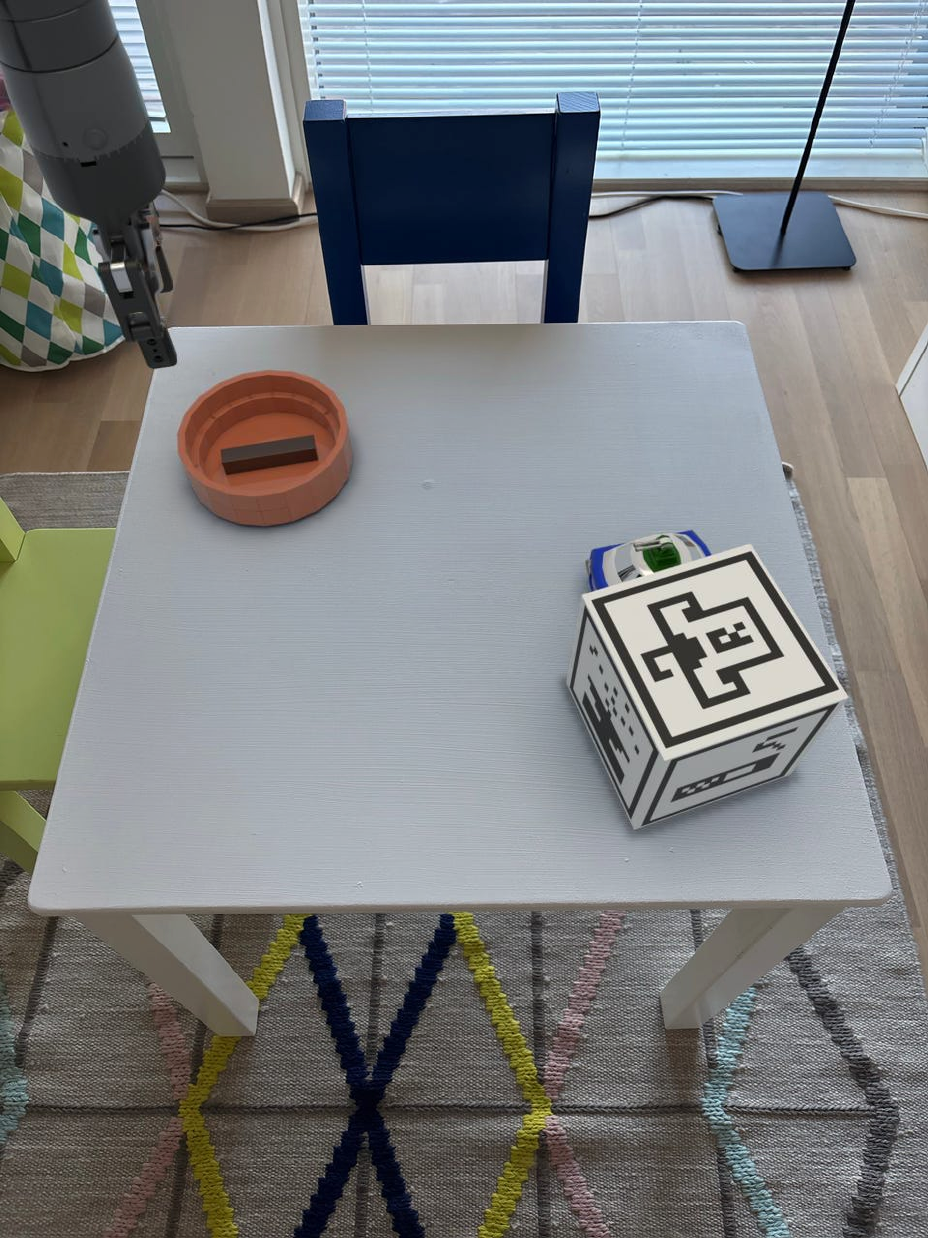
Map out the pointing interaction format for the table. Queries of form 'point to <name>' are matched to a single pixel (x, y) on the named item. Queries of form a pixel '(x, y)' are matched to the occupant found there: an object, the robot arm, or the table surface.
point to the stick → (269, 454)
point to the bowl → (257, 416)
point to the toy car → (642, 557)
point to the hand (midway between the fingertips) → (162, 326)
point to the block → (698, 684)
